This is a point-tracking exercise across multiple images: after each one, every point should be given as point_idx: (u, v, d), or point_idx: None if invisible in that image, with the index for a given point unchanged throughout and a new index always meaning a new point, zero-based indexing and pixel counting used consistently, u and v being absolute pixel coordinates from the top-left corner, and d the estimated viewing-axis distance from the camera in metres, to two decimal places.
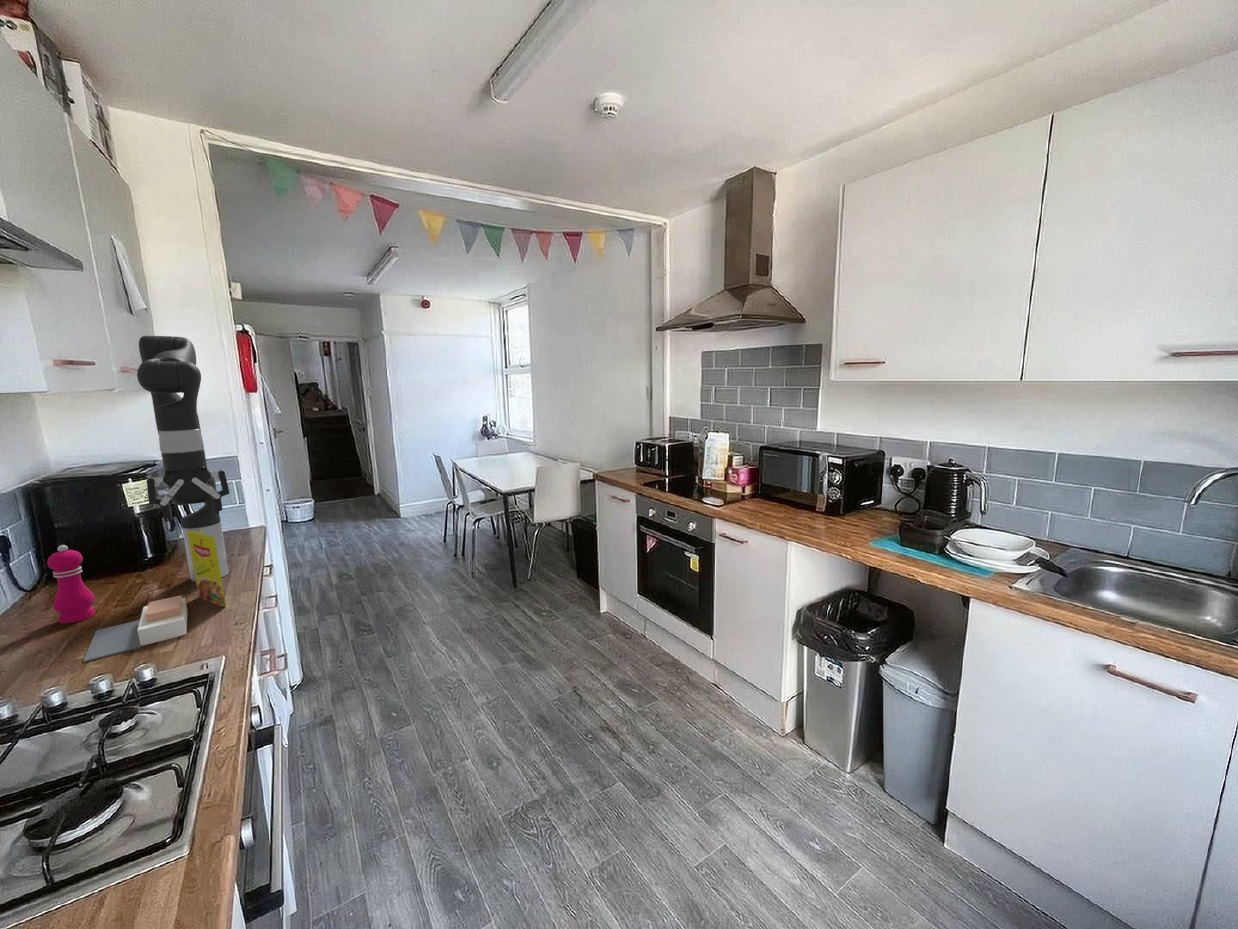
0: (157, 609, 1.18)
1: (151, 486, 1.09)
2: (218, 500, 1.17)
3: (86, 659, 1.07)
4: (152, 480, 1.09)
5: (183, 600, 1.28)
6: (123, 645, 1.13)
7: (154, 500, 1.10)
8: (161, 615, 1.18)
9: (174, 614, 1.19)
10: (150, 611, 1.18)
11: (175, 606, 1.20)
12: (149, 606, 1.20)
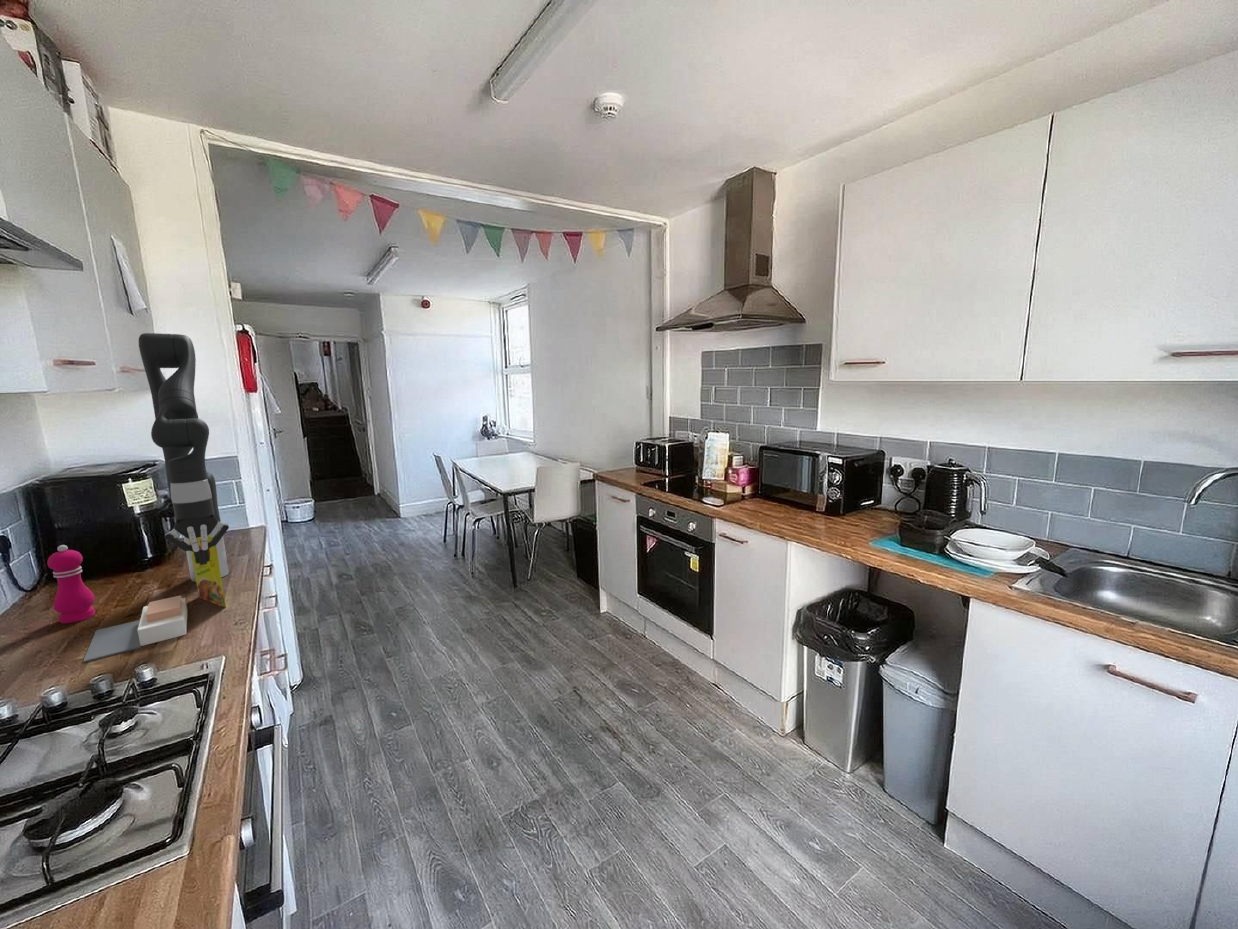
0: (157, 609, 1.18)
1: (173, 539, 1.20)
2: (206, 551, 1.25)
3: (86, 659, 1.07)
4: (169, 535, 1.19)
5: (183, 600, 1.28)
6: (123, 645, 1.13)
7: (188, 547, 1.22)
8: (161, 615, 1.18)
9: (174, 614, 1.19)
10: (150, 611, 1.18)
11: (175, 606, 1.20)
12: (149, 606, 1.20)
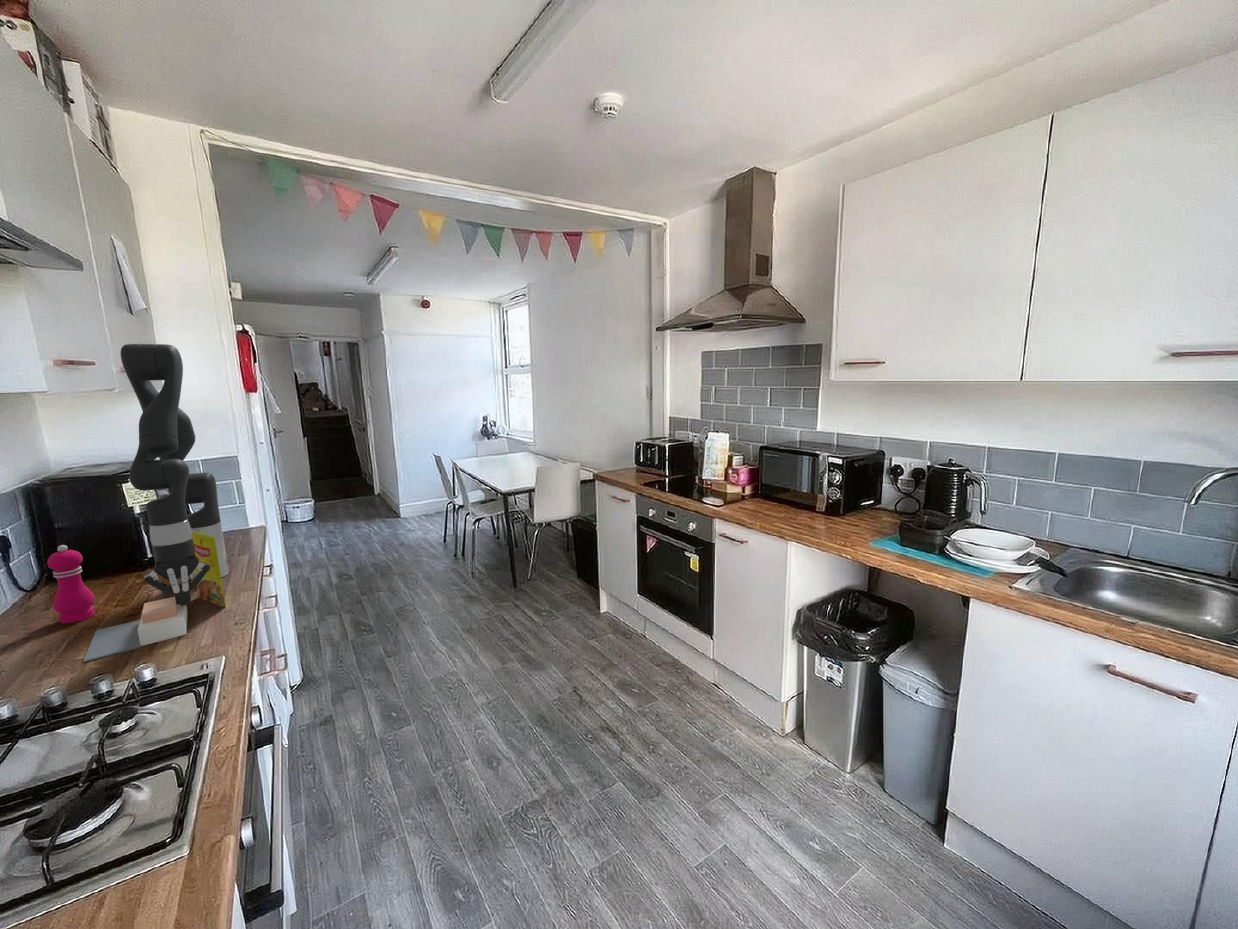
0: (153, 610, 1.18)
1: (152, 582, 1.18)
2: (187, 592, 1.23)
3: (86, 659, 1.07)
4: (148, 578, 1.18)
5: None
6: (123, 645, 1.13)
7: (168, 589, 1.20)
8: (156, 616, 1.17)
9: (170, 615, 1.19)
10: (145, 612, 1.17)
11: (171, 607, 1.19)
12: (144, 607, 1.20)
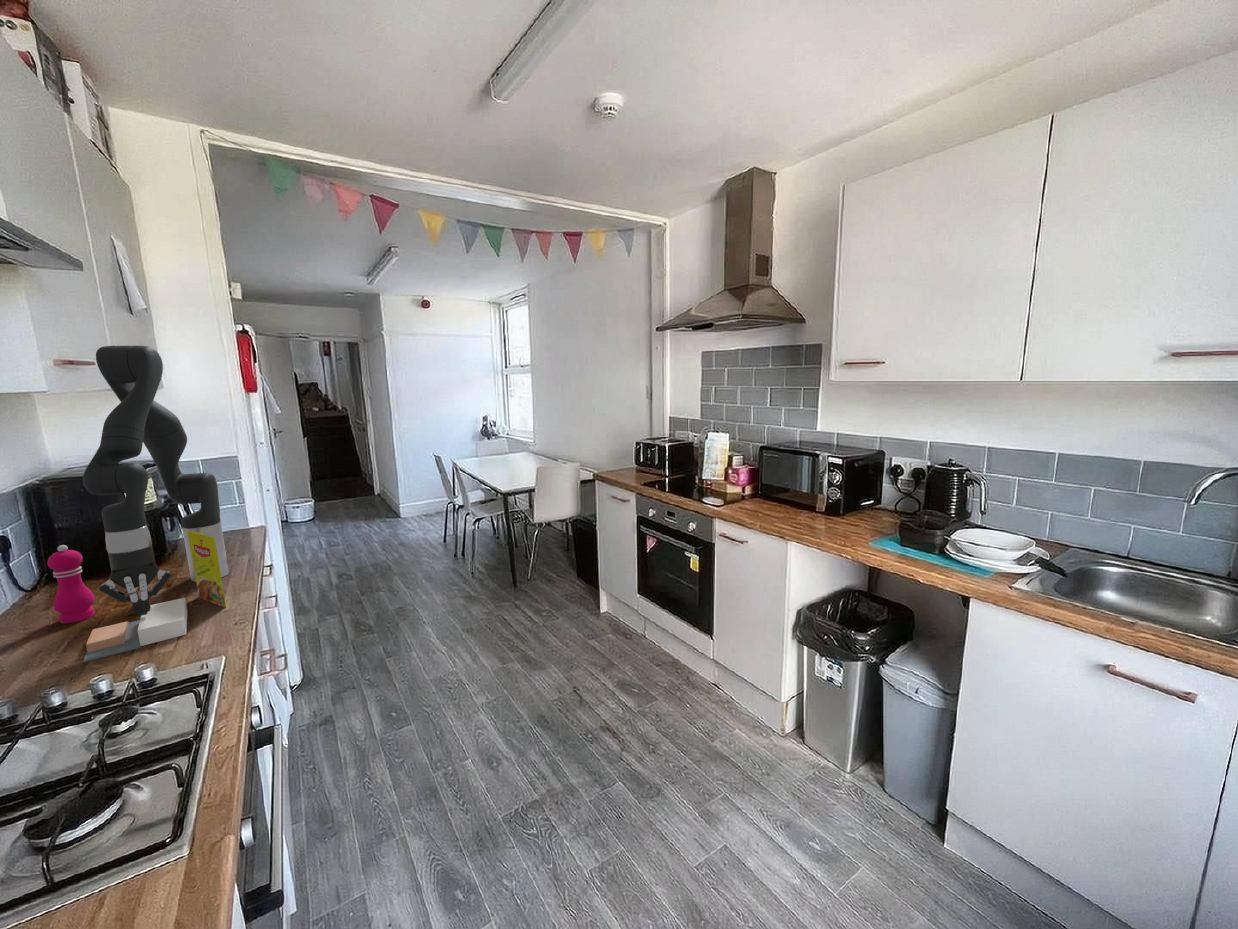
0: None
1: (108, 591, 1.13)
2: (146, 601, 1.18)
3: (86, 659, 1.07)
4: (103, 587, 1.13)
5: (183, 600, 1.28)
6: (123, 645, 1.13)
7: (125, 598, 1.15)
8: (108, 643, 1.12)
9: (93, 644, 1.11)
10: None
11: None
12: None
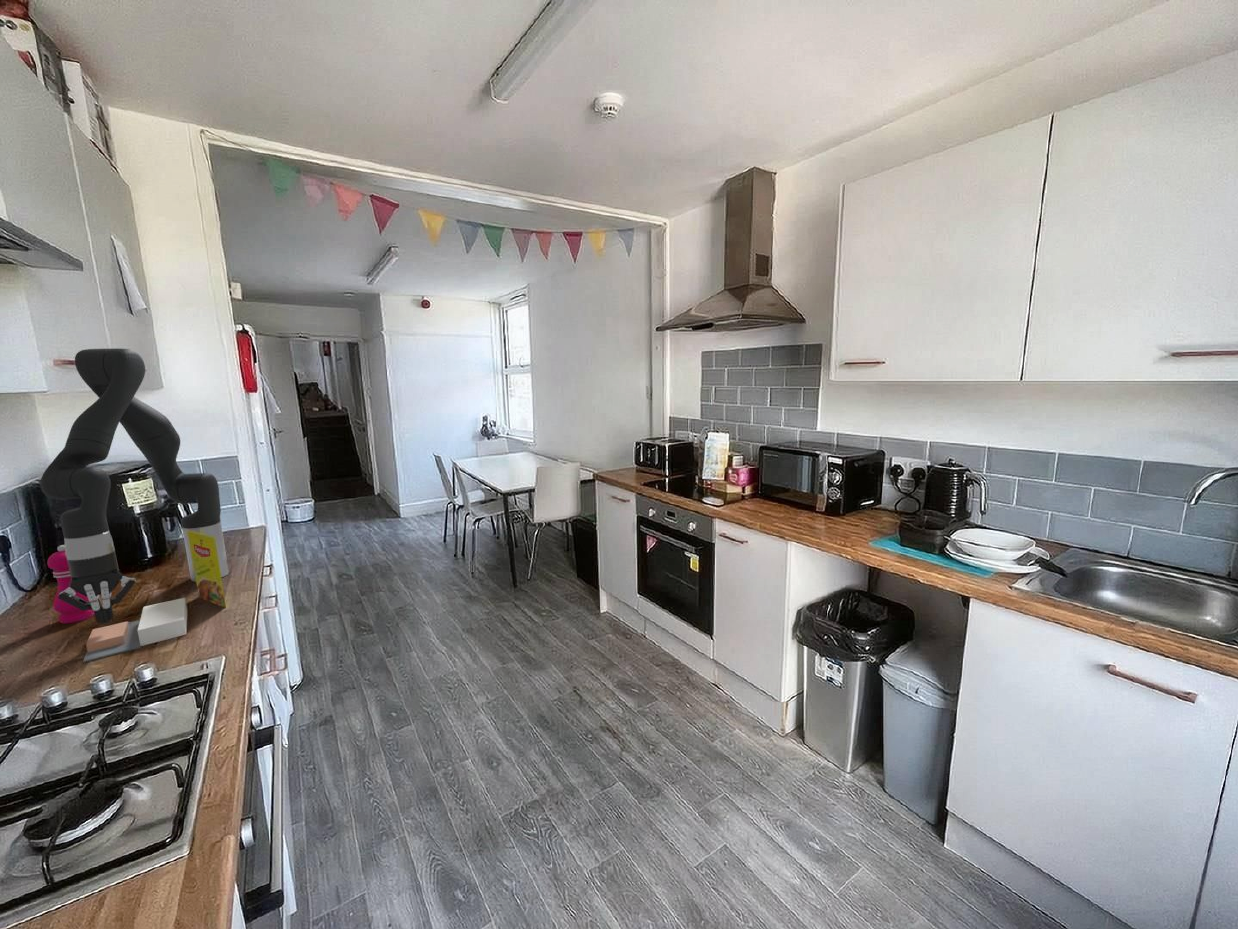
0: None
1: (68, 599, 1.09)
2: (108, 609, 1.14)
3: (86, 659, 1.07)
4: (63, 595, 1.09)
5: (183, 600, 1.28)
6: (123, 645, 1.13)
7: (86, 606, 1.11)
8: (108, 643, 1.12)
9: (93, 644, 1.11)
10: None
11: None
12: None
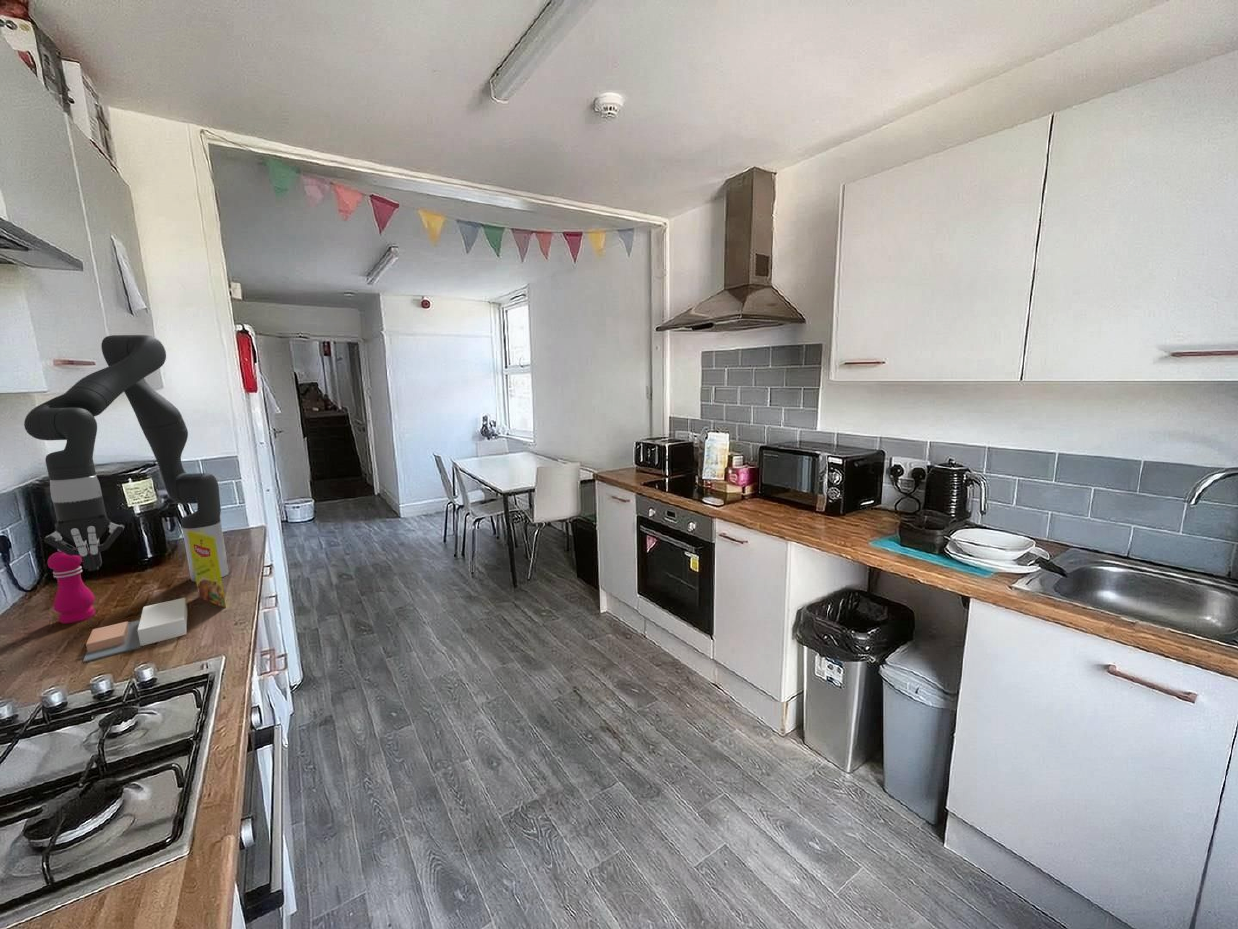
0: None
1: (54, 543, 1.07)
2: (96, 556, 1.12)
3: (86, 659, 1.07)
4: (49, 538, 1.06)
5: (183, 600, 1.28)
6: (123, 645, 1.13)
7: (73, 551, 1.09)
8: (108, 643, 1.12)
9: (93, 644, 1.11)
10: None
11: None
12: None
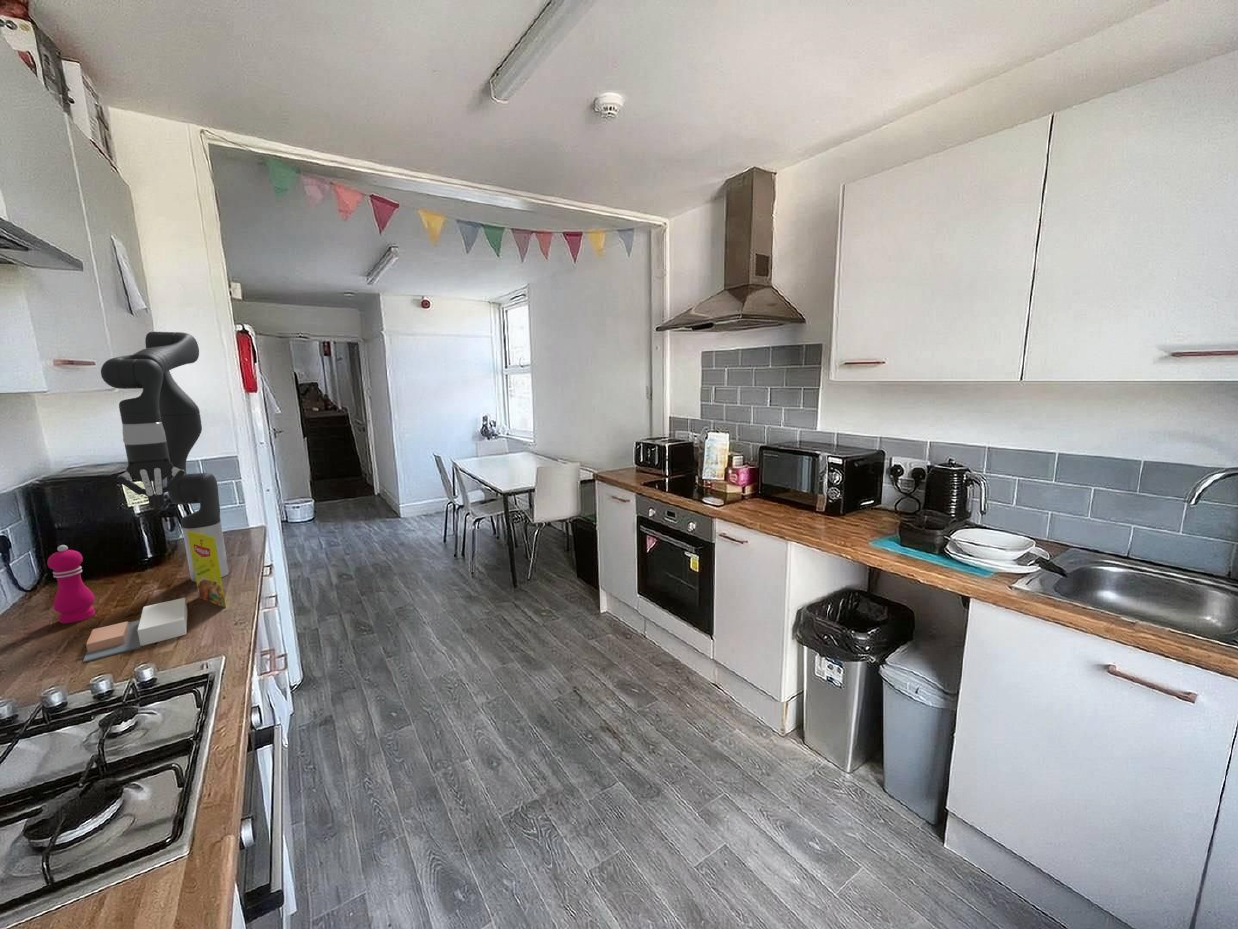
0: None
1: (125, 482, 1.18)
2: (160, 496, 1.23)
3: (86, 659, 1.07)
4: (121, 477, 1.18)
5: (183, 600, 1.28)
6: (123, 645, 1.13)
7: (141, 490, 1.20)
8: (108, 643, 1.12)
9: (93, 644, 1.11)
10: None
11: None
12: None
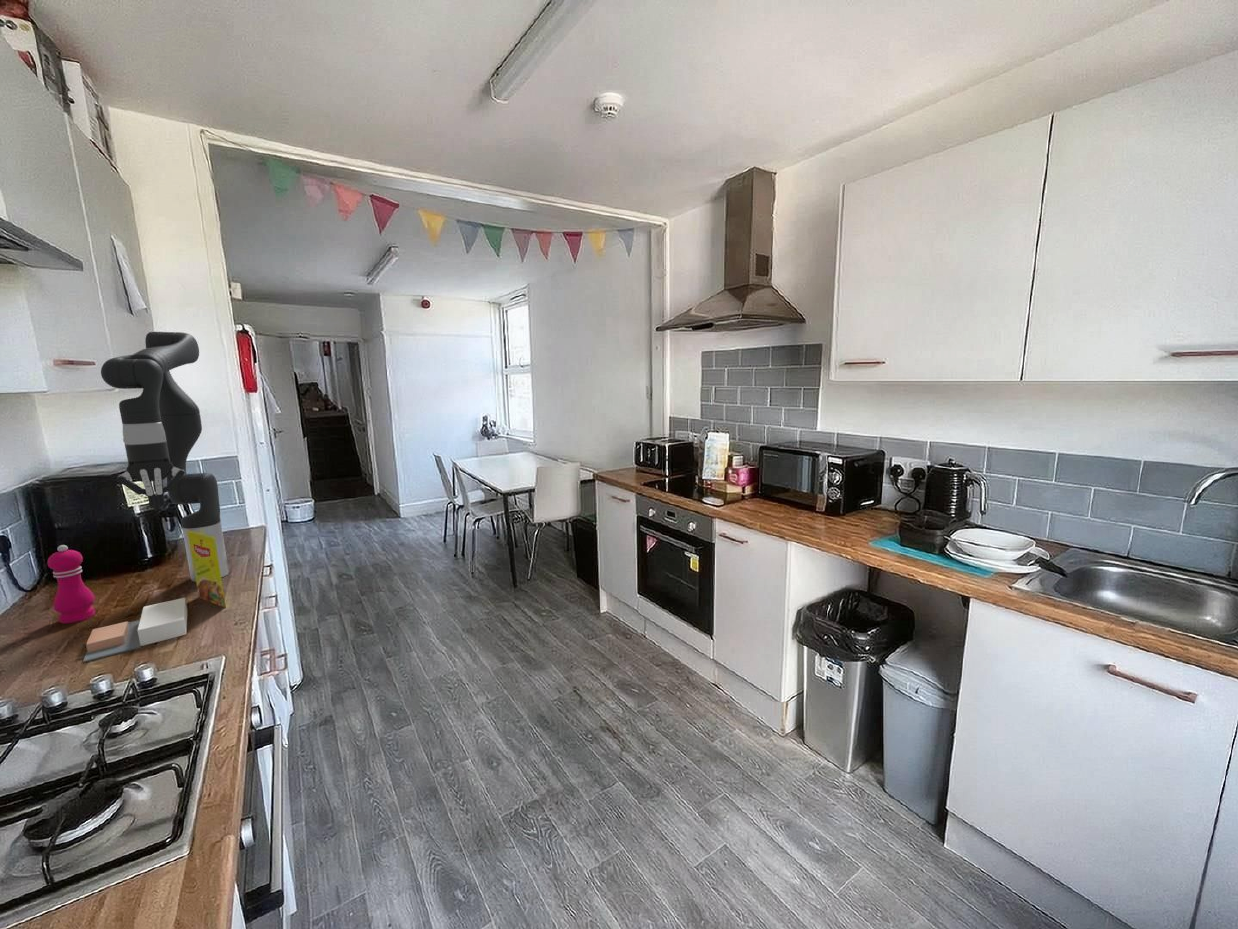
0: None
1: (125, 482, 1.18)
2: (160, 496, 1.23)
3: (86, 659, 1.07)
4: (121, 477, 1.18)
5: (183, 600, 1.28)
6: (123, 645, 1.13)
7: (141, 490, 1.20)
8: (108, 643, 1.12)
9: (93, 644, 1.11)
10: None
11: None
12: None
